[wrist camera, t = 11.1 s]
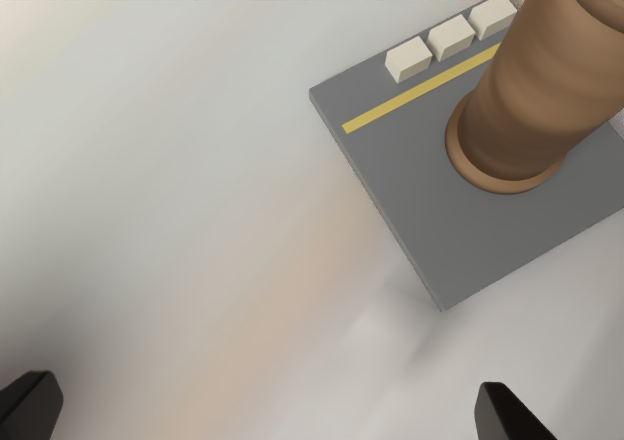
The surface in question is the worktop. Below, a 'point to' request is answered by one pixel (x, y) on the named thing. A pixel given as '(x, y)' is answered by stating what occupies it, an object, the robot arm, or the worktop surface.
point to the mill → (540, 94)
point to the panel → (446, 180)
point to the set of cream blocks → (449, 38)
